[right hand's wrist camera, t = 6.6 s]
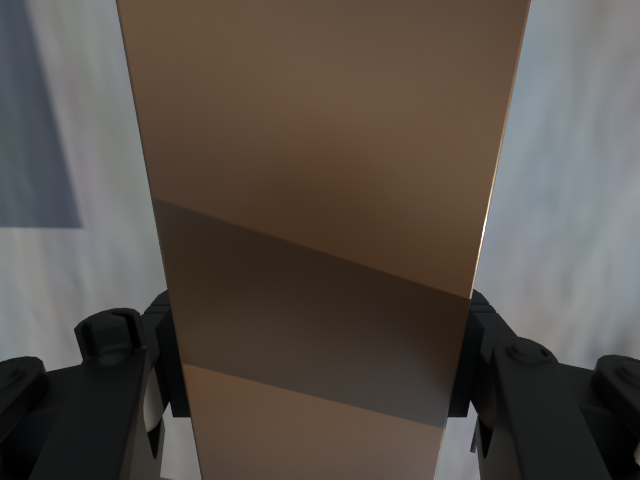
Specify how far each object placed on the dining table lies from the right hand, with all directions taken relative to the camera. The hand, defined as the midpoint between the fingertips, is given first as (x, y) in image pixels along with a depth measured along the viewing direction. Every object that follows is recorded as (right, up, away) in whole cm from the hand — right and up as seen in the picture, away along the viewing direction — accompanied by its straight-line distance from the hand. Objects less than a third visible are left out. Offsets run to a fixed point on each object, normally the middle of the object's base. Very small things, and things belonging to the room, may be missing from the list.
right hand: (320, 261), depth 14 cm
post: (0, +28, -11) cm, 30 cm away
